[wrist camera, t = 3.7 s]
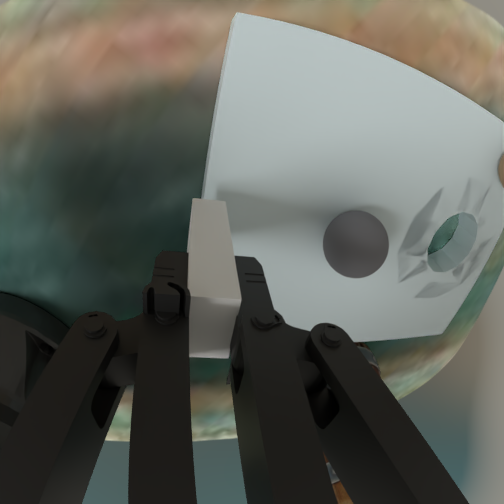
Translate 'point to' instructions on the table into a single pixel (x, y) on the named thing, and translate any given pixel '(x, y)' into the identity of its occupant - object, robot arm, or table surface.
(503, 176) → the cork ball
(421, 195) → the white slab
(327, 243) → the ball
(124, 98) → the table surface
